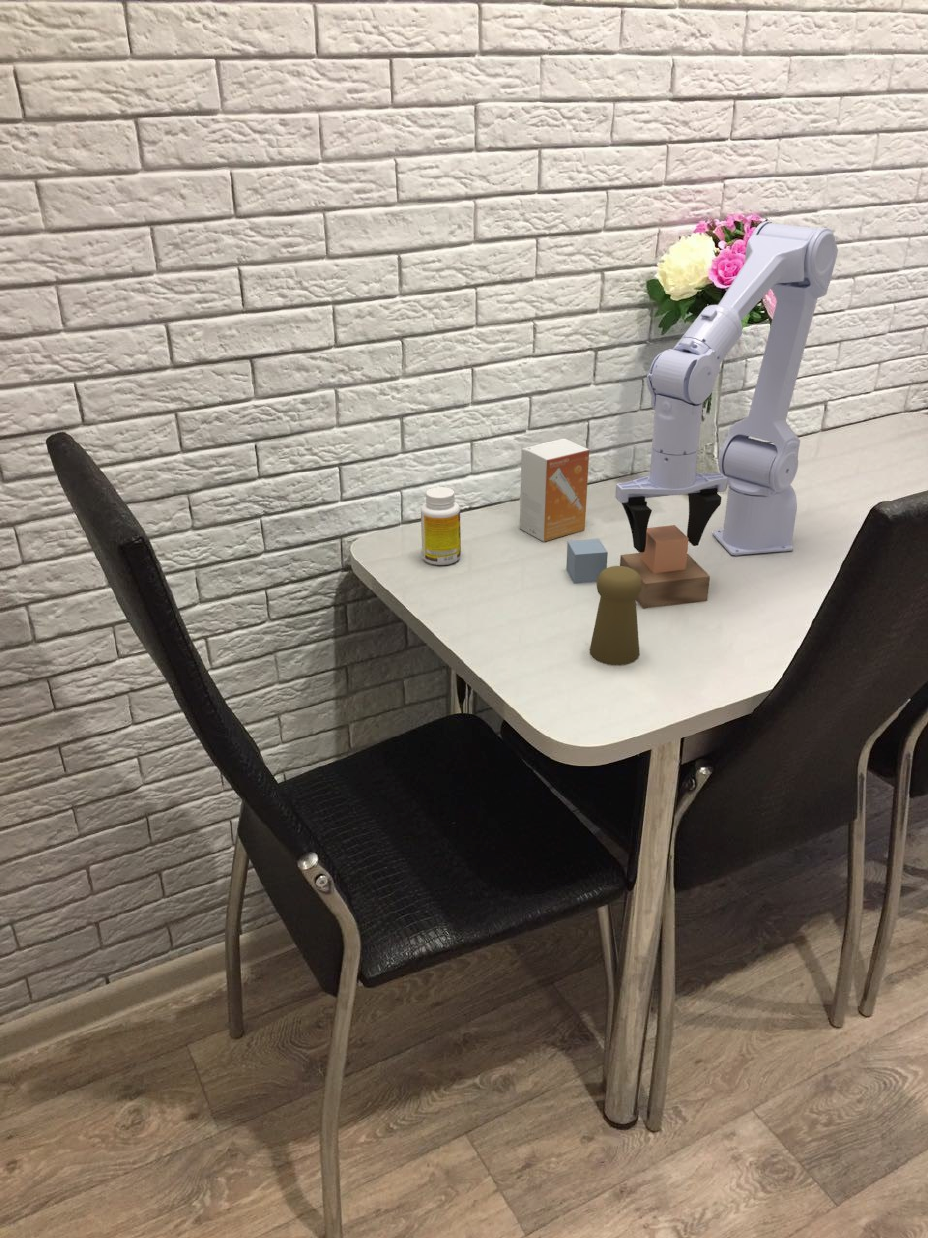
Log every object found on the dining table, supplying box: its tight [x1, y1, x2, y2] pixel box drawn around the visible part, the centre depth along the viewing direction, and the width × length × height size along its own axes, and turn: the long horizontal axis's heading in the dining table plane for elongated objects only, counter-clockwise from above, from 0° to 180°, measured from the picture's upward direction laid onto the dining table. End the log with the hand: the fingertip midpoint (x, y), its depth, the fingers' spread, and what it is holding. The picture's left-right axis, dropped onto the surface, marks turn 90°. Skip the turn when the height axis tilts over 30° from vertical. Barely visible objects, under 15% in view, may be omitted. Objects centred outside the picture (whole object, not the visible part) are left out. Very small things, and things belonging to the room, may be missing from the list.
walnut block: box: [619, 552, 711, 610], centre depth 139 cm, size 9×9×4 cm
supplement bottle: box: [420, 486, 462, 566], centre depth 146 cm, size 6×6×10 cm
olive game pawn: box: [589, 565, 642, 666], centre depth 122 cm, size 6×6×11 cm
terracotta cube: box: [641, 524, 689, 573], centre depth 137 cm, size 4×4×4 cm
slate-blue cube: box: [565, 538, 609, 585], centre depth 143 cm, size 4×4×4 cm
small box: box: [519, 438, 590, 542], centre depth 154 cm, size 8×6×13 cm
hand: (666, 546), depth 136 cm, fingers open, 7 cm apart
